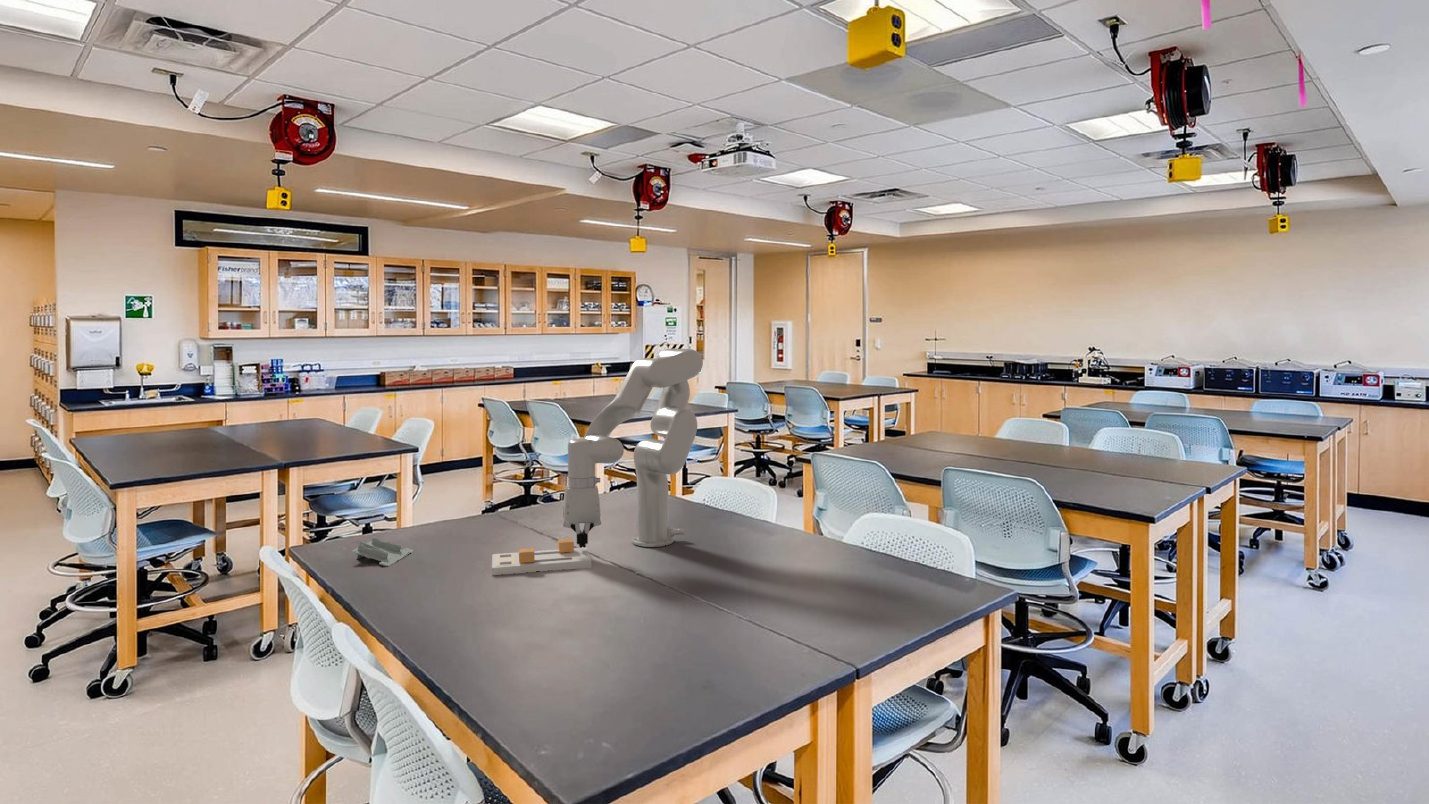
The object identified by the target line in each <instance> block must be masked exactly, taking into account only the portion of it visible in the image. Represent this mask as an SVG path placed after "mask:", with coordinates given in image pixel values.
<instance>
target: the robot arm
mask: <svg viewBox="0 0 1429 804" xmlns="http://www.w3.org/2000/svg"><path fill="white" fill-rule="evenodd" d="M703 363H704V361H703V357H702V355H701V354H700V352H699V351H697V350H696V349H695V350H694V349H692V348H665V349H663V350H661V351H660V352H659V353H658V354H657V357H656V358H650V357H649V358H648V357H643V358H639V359H637V360H635V361H634V362H633V363H632V365H631V366H630V368H629V371H628V372H627V375H626V376H625V378H624V380H623V382H622V383H621V386H620V387H619V390H618V391H617V393H616V395H615V397H614V399H613V400H612V401H611V402H610V403H608V404H607V405H606V406H605V407H604V408H603V409H602V410H601V411H600V412H599V413H598V414H597V415H596V416H595V417H594V418H593V419H592V421H591V422H590V424H589V426H588V428H587V430H586V432H585V434H584V436H583V438H574V439H571V440H569V442H568V444H567V476H568V477H567V483H568V485H567V486H565V489H564V494H563V495H564V496H563V507H562V508H563V511H562V514H563V515H562V518H563V523H562V526H563V528H567V529H572V531H574V533H576V545H578V546H579V547H578V548H587V547H586V545H588V544H589V536H588V535H589V533H590V531H591V530H592V529H593V528H594V527H598V526H601V524H602V521H601V502H600V494H599V488H598V485H597V484H598V483H601V477H597V476H596V464H615V463H617V462H619V461H620V460H621V459H622V457H623V455H624V451H625V448H624V446H623V443H622V442H621V441H620V440H619V439H618V438H615V437H611V436H610V435H611V433H612V432H613V431H614V430H615V429H616V428H617V427H618V426H619V425H621V424H622V423H624V422H626V421H628V420H630V419H632V418H634V417H636V416H638V415H640V413H641V411H642V409H643V407H644V405H645V403H646V402H647V400H648V397H649V396H650V393H651V392H652V390H653V388H656V389H657V388H658V389H659V388H660V389H661V388H662V392H661V394H660V396H659V399H658V402H657V404H656V407H655V409H654V413H653V414H652V418H651V420H650V429H651V432H652V433H653V434H654V435H656V436H658V437H660V438H661V437H662V438H665V439H664V440H662V439H657V438H646V439H642V440H641V441H640V442H638V443H637V444H636V446H635V448H634V451H633V461H634V467H635V468H634V469H635V474H636V509H637V510H636V512H637V513H636V516H637V517H636V519H637V520H636V523H637V524H636V525H637V526H636V527H637V529H636V530H637V532H636V533H637V534H636V535H634V536H633V537H632V538H631V539H632V544H633V545H636V546H639V547H643V548H644V547H645V548H659V547H660V548H661V547H665V545H666V546H670V545H671V544H673V543H674V542H675V541H674V539H675V538H674V536H684V535H685V529H684V528H679V527H674V528H672V527H671V526H670V524H669V523H670V522H669V480H668V476H667V475H670V476H671V475H675V474H677V473H678V472H680V471H681V470H682V469H683V467H684V465H685V463H686V462H687V459H688V456H689V454H690V451H691V448H692V446H693V443H694V440H695V438H696V435H697V431H698V419H697V417H696V415H695V413H694V412H693V411H691V410H690V409H688V408H687V406H688V403H689V400H690V393H691V391H690V385H689V384H690V383H689V381H688V380H691V379H693V378H695V377H696V376H698V374H699V373H700V372H701V371H702V369H703V366H704V364H703ZM580 524H584V525H583V529H582V530H581V526H580Z"/></svg>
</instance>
